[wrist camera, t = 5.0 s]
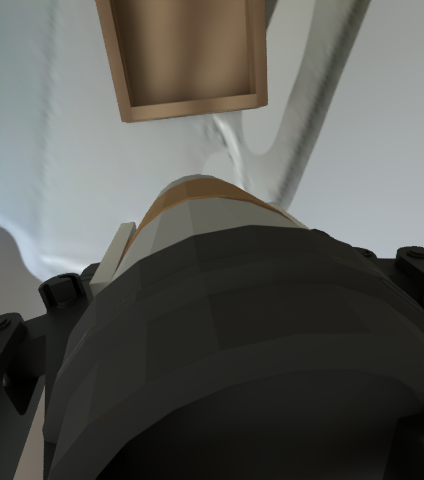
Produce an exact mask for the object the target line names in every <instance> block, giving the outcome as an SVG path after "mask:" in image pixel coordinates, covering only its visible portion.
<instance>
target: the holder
mask: <svg viewBox="0 0 424 480" xmlns="http://www.w3.org/2000/svg"><path fill="white" fill-rule="evenodd" d="M95 1H96V6H97V10H98V15H99V19H100V24H101V28H102V33H103V38H104V42H105V47H106V51H107V56H108V60H109V65H110V70H111V74H112V79H113V83H114V88H115V92H116V97H117V102H118V106H119V111H120V115H121V120H122V122H127V123H132V122H141V121H149V120H158V119H167V118H176V117H185V116H193V115H202V114H211V113H220V112H229V111H237V110H246V109H255V108H260V107H262V106H266V105H268V96H267V95H268V94H267V56H266V54H267V53H266V13H265V0H95Z"/></svg>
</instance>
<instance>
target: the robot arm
mask: <svg viewBox="0 0 424 480" xmlns="http://www.w3.org/2000/svg"><path fill="white" fill-rule="evenodd" d="M267 204H268V205H270V206H272V207H274V208H275V209H277V210H279V211H280V212H282V213H283V214H284V215H285V216H287V217H288V218H289V219H291V220H292V221H293V222H294V223H296V224H297V225H298V226H300V227H302V228H306V229H308V230H311V231H314V232H317V233H319V234H322V235H325V236H327V237H330V236H329V235H328V234H327V233H325V232H323V231H320V230H317V229H309V228H308V227H306V226H305V225H303V224H302V223H301V222H299V221H298V220H297V219H295V218H294V217H292V216H291V215H290V214H288V213H287V212H286V211H284V210H283V209H282V208H280V207H279V206H278V205H276V204H275V203H274V202H270V203H267ZM136 230H137V229H136V225H135V222H130V223H123V224H121V226H120V228H119V230H118V231H117V233H116V235H115V237H114V239H113V241H112V243H111V244H110V246H109V248H108V250H107V252H106V254H105V256H104V258H103V259H102V261H101V263H94V264H91V265H89V266H88V267H87V268H86V269H84V270H83V272H82V274H81V275H80V276H79V275H78V274H76V273H66V274H61V275H58V276H55V277H53V278H50V279H49V280H47V281H45V282H44V283H43V284H41V285H40V287H39V289H38V290H39V293H40V295H41V297H42V300H43V302H44V304H45V306H46V309H47V314H45V315H42V316H39V317H36V318H33V319H30V320H27V321H24V320H23V318H22V316H21V315H20V314H19V313H6V314H3V315H0V480H13V478H14V475H15V472H16V469H17V466H18V463H19V460H20V457H21V454H22V451H23V448H24V445H25V442H26V439H27V436H28V433H29V431H30V428H31V425H32V421H33V419H34V416H35V412H36V410H37V407H38V404H39V401H40V398H41V395H42V392H43V389H44V386H45V417H46V413H47V409H48V405H49V401H50V397H51V393H52V389H53V386H54V383H55V380H56V377H57V374H58V372H59V371H60V369H61V367H62V363H63V359H64V355H65V351H66V348H67V344H68V340H69V336H70V333H71V332H72V330H73V329H74V327H75V326H76V324H77V323H78V321H79V320H80V318H81V317H82V315H83V314H84V312H85V311H86V309H87V308H88V307H89V305H90V304H91V302H92V301H93V299H94V298H95V296H96V295H97V294H98V293H99V292H100V291H102V290H103V289H104V288H105V287H106V286H108V285H109V283H110V281H111V280H112V278H113V276H114V274H115V272H116V271H117V269H118V267H119V265H120V263H121V261H122V260H123V257H124V253H125V250H126V248H127V246H128V244H129V242H130V241H131V239H132V237H133V236H134V234H135V232H136ZM330 238H332V237H330ZM333 239H334V238H333ZM353 248H355V249H356V250H357V251H358V252H359V253H361V254H362V255H363V256H364V257H366V258H367V259H368V260H369V261H371V262H372V263H373V264H374V265H376V266H377V267H378V268H379V269H381V270H382V272H383V273H384V274H385V276H386V277H387V278H388V280H390V281H391V282H392V283H394V284H395V285H396V286H397V287H399V288H400V289H401V290H402V291H404V292H405V293H406V294H407V295H409V296H410V297H411V298H412V299H413V300H415V301H416V302H417V303H418V304H419V305H420V306H421V307H422V308H423V310H424V248H423V247H417V246H412V247H402V248H399V249H398V250H397V254H396V259H384V258H383V259H382V258H377V257H376V255H375V254H374V253H373V252H372V251H369V250H367V249H363V248H359V247H353ZM56 446H57V444H55V443H51V442H47V441H44V470H43V480H48V477H49V473H50V469H51V465H52V461H53V458H54V454H55V450H56ZM95 480H136V477H135V474H134V471H133V469H132V466H131V463H130V460H129V458H128V455H127V452H126V449H125V447H124V446H123V447H122V448H121V450H120V451H119V452H118V453H117V454H116V455H115V456H114V458H113V459H112V460H111V461H110V462H109V463H108V464H107V466H106V467H105V468H104V469H103V470H102V471H101V472H100V474H99V475H98V476H97V477H96V479H95ZM382 480H424V413H419V414H415V415H410V416H406V417H401V418H398V422H397V426H396V429H395V433H394V437H393V441H392V444H391V448H390V452H389V456H388V459H387V463H386V467H385V471H384V474H383V478H382Z"/></svg>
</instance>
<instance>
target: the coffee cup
mask: <svg viewBox="0 0 424 480" xmlns="http://www.w3.org/2000/svg"><path fill="white" fill-rule="evenodd" d="M419 413H424V310H423V308H422V307H421V306H420V305H419V304H418V303H417V302H416V301H415V300H413V299H412V298H411V297H410V296H409V295H407V294H406V293H405V292H404V291H402V290H401V289H400V288H399V287H397V286H396V285H395V284H394V283H392V282H391V281H390V280H388V278H387V277H386V276H385V274H384V273H383V272H382V270H381V269H379V268H378V267H377V266H376V265H374V264H373V263H372V262H371V261H369V260H368V259H367V258H366V257H364V256H363V255H362V254H361V253H359V252H358V251H357V250H356V249H355V248H353V247H352V246H351V245H349V244H347V243H344V242H341V241H338V240H336V239H333V238H330V237H327V236H325V235H322V234H319V233H317V232H314V231H311V230H308V229H306V228H302V227H300V226H298V225H297V224H296V223H294V222H293V221H292V220H291V219H289V218H288V217H287V216H285V215H284V214H283V213H282V212H280V211H279V210H277V209H275V208H274V207H272V206H270V205H268V204H267V203H265V202H263V201H261V200H259V199H258V198H256V197H254V196H252V195H251V194H249V193H247V192H245V191H244V190H242V189H240V188H238V187H237V186H235V185H233V184H230V183H228V182H225V181H223V180H221V179H218V178H215V177H213V176H209V175H200V174H196V175H190V176H185V177H182V178H180V179H178V180H176V181H174V182H172V183H170V184H169V185H168V186H167V187H166V188H164V189H163V190H162V191H161V193H160V194H159V196H158V197H157V199H156V200H155V201H154V203H153V204H152V206H151V207H150V209H149V210H148V212H147V213H146V215H145V217H144V218H143V220H142V222H141V223H140V225H139V227H138V229H137V230H136V232H135V234H134V236H133V237H132V239H131V241H130V242H129V244H128V246H127V248H126V250H125V253H124V257H123V260H122V261H121V263H120V265H119V267H118V269H117V271H116V272H115V274H114V276H113V278H112V280H111V281H110V283H109V285H108V286H106V287H105V288H104V289H103V290H102V291H100V292H99V293H98V294H97V295H96V296H95V298H94V299H93V301H92V302H91V304H90V305H89V307H88V308H87V309H86V311H85V312H84V314H83V315H82V317H81V318H80V320H79V321H78V323H77V324H76V326H75V327H74V329H73V330H72V332H71V333H70V336H69V340H68V344H67V348H66V351H65V355H64V359H63V363H62V367H61V369H60V371H59V372H58V374H57V377H56V380H55V383H54V386H53V389H52V393H51V397H50V401H49V405H48V409H47V413H46V417H45V421H44V425H43V429H42V430H43V436H44V441H47V442H51V443H55V444H57V446H56V450H55V454H54V458H53V461H52V465H51V469H50V473H49V477H48V480H95V479H96V477H97V476H98V475H99V474H100V472H101V471H102V470H103V469H104V468H105V467H106V466H107V464H108V463H109V462H110V461H111V460H112V459H113V458H114V456H115V455H116V454H117V453H118V452H119V451H120V450H121V448H122V447H123V446H124V447H125V449H126V452H127V455H128V458H129V460H130V463H131V466H132V469H133V471H134V474H135V477H136V480H382V478H383V474H384V471H385V467H386V463H387V459H388V456H389V452H390V448H391V444H392V441H393V437H394V433H395V429H396V426H397V422H398V418H401V417H406V416H410V415H415V414H419Z"/></svg>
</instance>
